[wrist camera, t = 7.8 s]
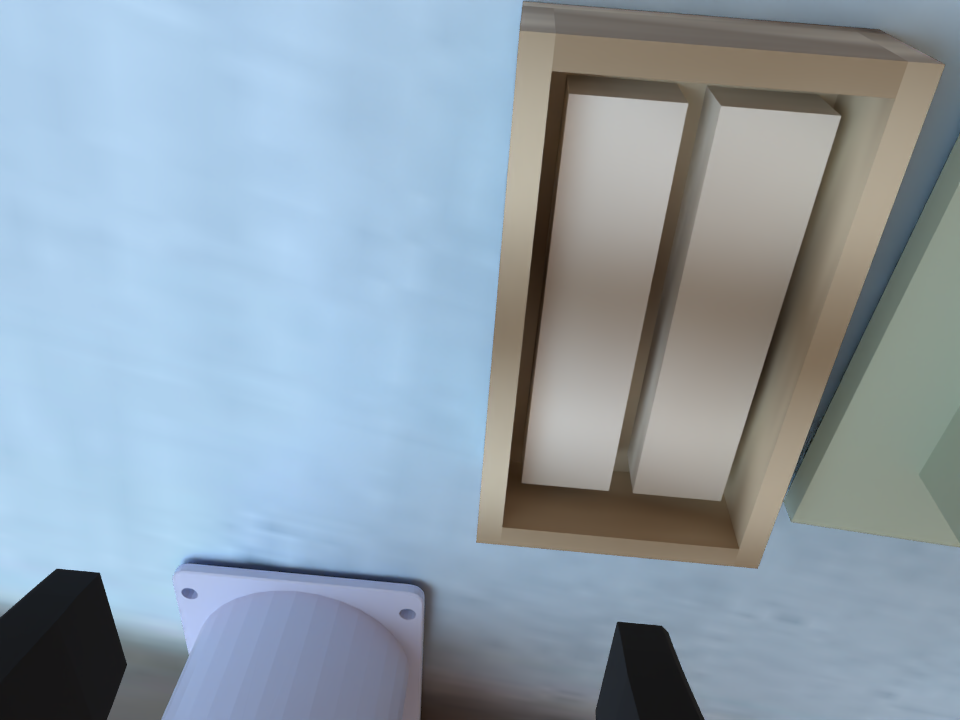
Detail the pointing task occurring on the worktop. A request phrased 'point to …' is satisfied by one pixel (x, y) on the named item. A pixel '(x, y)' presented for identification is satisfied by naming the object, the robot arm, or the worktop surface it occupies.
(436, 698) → the worktop surface
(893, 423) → the lid
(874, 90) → the box
